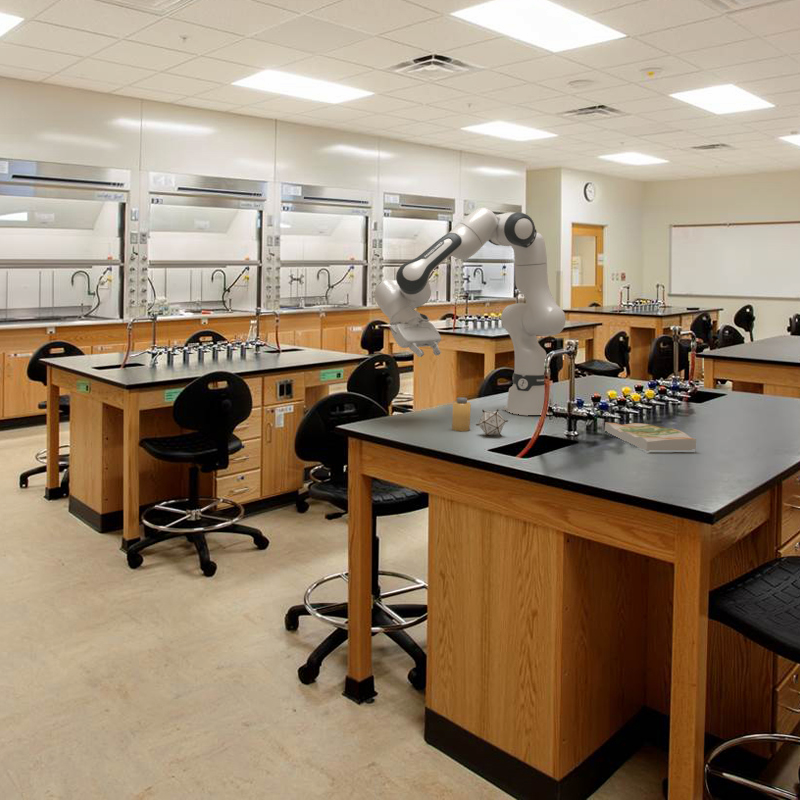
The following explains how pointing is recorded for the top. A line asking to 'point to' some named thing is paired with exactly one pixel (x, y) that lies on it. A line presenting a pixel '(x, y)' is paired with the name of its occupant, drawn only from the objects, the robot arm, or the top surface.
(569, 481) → the top surface
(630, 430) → the topographic model
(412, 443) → the top surface
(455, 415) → the bottle
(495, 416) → the game die
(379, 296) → the robot arm
